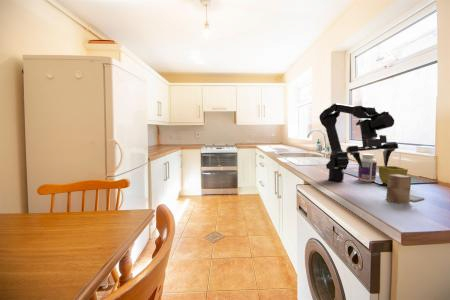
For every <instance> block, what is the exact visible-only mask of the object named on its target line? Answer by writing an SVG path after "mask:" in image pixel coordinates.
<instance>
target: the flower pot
mask: <svg viewBox="0 0 450 300" xmlns="http://www.w3.org/2000/svg"><path fill="white" fill-rule="evenodd" d="M408 171H409V169H408V168H404V167H400V166H396V165H395V166H393V165H387V167H385V165H378V174H379V179H380V182H381V183H382V184H383V183H385V184H384V185H386V184H388V175H393V174H400V175H404V176H408Z"/></svg>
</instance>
